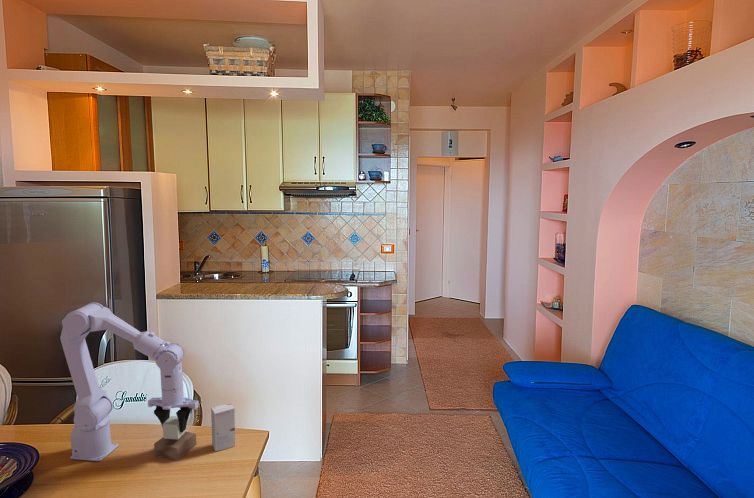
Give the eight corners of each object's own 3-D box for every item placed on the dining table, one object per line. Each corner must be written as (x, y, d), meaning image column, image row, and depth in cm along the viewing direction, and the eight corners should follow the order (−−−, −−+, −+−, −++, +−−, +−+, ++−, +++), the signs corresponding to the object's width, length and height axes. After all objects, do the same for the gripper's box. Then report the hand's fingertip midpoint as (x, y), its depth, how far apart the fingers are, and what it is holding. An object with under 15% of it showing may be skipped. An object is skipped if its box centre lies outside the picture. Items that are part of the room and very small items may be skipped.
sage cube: (163, 438, 129) (162, 424, 128) (172, 429, 133) (171, 416, 133) (178, 439, 128) (177, 425, 128) (186, 431, 133) (185, 416, 132)
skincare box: (215, 452, 131) (213, 414, 129) (211, 444, 134) (209, 407, 133) (236, 445, 134) (235, 408, 132) (232, 438, 138) (230, 402, 136)
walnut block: (154, 456, 129) (154, 443, 128) (174, 441, 137) (173, 429, 136) (178, 461, 127) (177, 448, 126) (196, 445, 134) (195, 433, 134)
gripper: (140, 391, 126) (143, 435, 127) (188, 394, 124) (191, 439, 126) (154, 380, 132) (157, 422, 134) (201, 383, 131) (203, 425, 133)
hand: (174, 429), depth 131 cm, fingers closed on sage cube, 4 cm apart
